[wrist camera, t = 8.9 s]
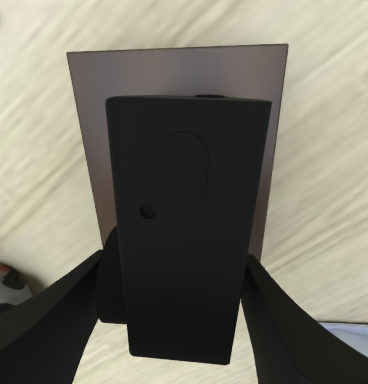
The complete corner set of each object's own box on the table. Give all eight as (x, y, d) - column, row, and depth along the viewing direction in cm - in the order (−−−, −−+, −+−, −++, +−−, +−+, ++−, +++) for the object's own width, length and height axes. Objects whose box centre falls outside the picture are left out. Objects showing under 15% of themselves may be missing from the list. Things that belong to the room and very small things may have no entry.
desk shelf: (265, 57, 15) (289, 43, 11) (246, 248, 21) (257, 286, 17) (100, 62, 16) (65, 51, 12) (126, 245, 22) (108, 281, 18)
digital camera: (132, 91, 12) (55, 89, 6) (236, 95, 12) (275, 96, 6) (141, 253, 16) (100, 356, 10) (218, 258, 16) (229, 369, 10)
